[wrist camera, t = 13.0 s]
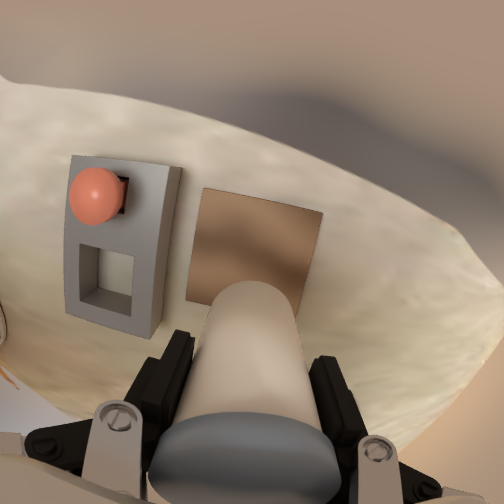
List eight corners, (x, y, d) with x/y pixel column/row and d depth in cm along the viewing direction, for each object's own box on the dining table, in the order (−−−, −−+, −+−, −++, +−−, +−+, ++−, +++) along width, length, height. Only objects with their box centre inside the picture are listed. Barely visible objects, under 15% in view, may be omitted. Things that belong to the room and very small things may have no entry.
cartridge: (284, 363, 15) (304, 524, 6) (200, 348, 15) (152, 506, 6) (307, 286, 14) (375, 448, 5) (213, 268, 14) (142, 422, 4)
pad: (293, 317, 29) (294, 321, 28) (187, 297, 29) (185, 300, 28) (320, 212, 26) (322, 213, 26) (204, 187, 26) (203, 188, 25)
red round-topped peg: (143, 217, 26) (111, 230, 19) (104, 210, 26) (67, 220, 19) (150, 171, 25) (119, 170, 18) (110, 166, 25) (72, 165, 18)
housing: (161, 321, 29) (149, 339, 25) (83, 298, 29) (65, 312, 25) (181, 167, 25) (169, 166, 22) (93, 156, 25) (72, 155, 21)
